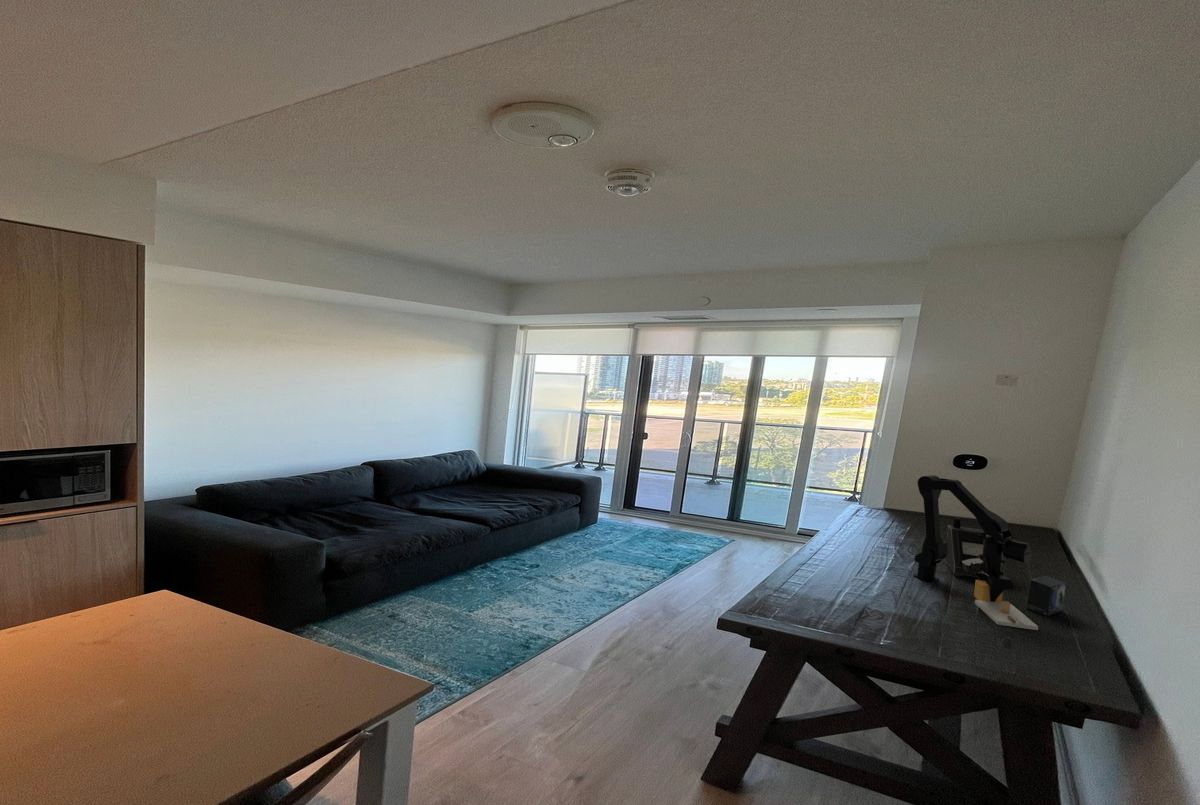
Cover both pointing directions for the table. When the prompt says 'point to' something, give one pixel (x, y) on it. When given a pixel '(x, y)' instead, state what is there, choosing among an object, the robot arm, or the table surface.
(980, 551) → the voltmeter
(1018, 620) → the plate
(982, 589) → the mustard yellow cube
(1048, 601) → the small box
